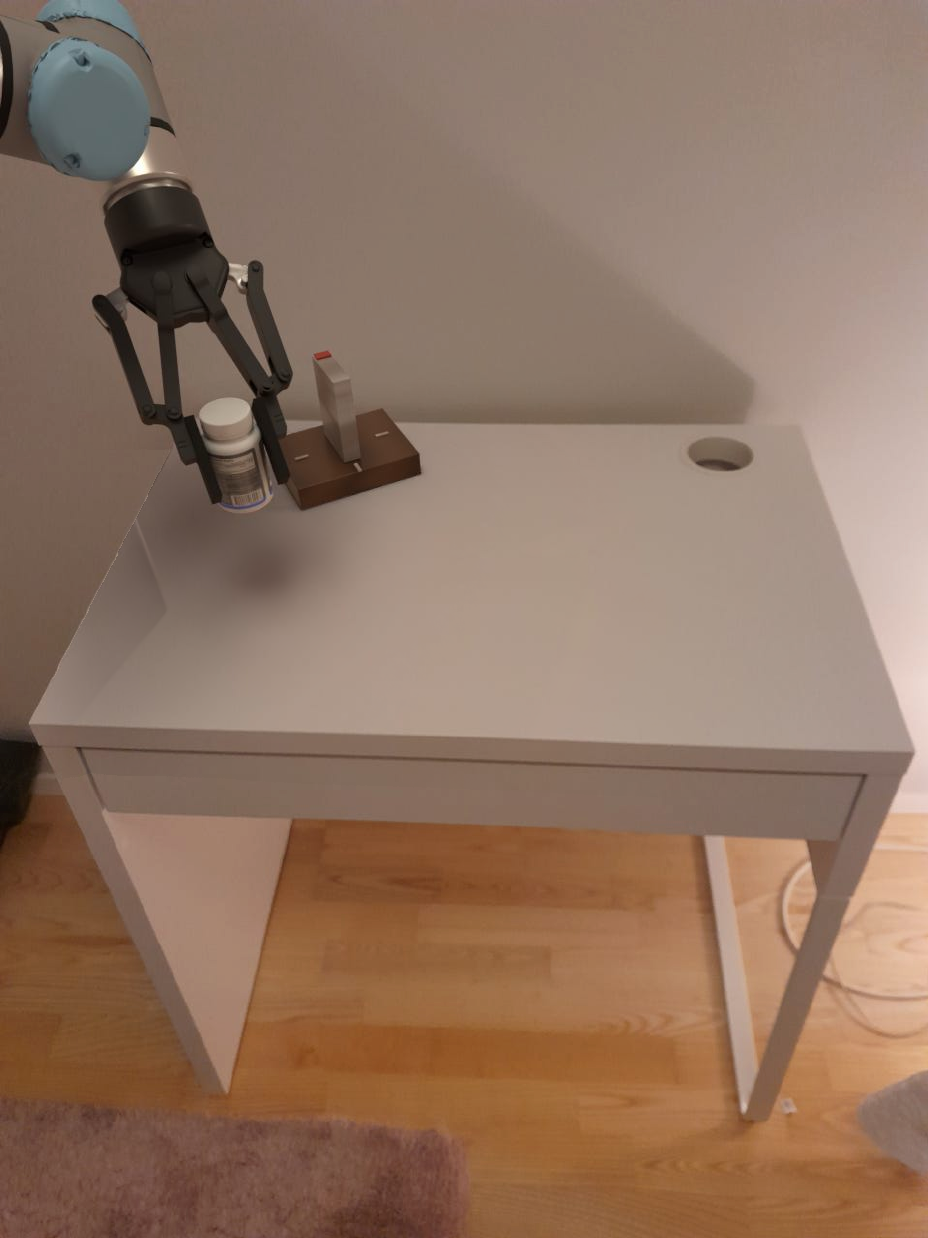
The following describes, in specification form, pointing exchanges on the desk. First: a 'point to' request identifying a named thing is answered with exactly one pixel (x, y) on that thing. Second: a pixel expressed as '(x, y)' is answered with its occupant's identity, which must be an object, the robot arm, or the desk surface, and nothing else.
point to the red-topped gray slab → (336, 406)
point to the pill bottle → (236, 454)
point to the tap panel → (330, 478)
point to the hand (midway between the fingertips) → (251, 489)
